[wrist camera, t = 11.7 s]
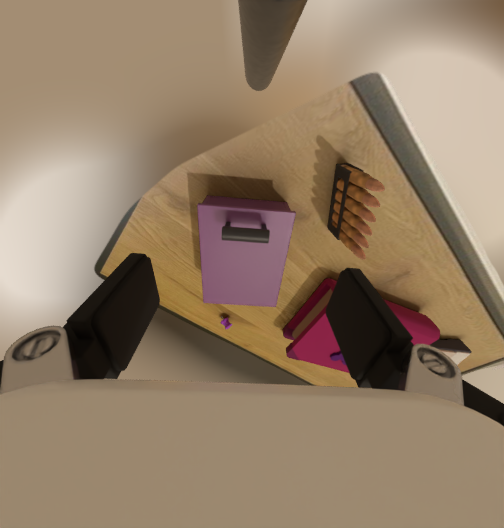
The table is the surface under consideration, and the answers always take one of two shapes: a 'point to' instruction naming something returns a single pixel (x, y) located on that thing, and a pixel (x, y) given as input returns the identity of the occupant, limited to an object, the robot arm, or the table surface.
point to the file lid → (243, 253)
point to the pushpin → (226, 323)
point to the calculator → (452, 349)
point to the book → (322, 337)
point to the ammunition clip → (352, 206)
